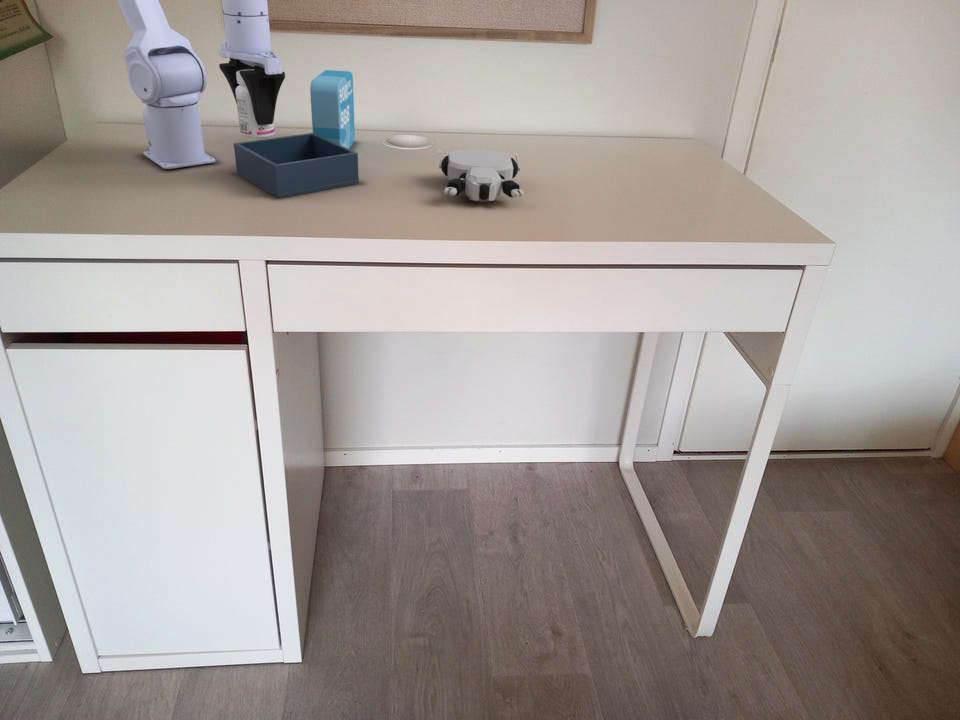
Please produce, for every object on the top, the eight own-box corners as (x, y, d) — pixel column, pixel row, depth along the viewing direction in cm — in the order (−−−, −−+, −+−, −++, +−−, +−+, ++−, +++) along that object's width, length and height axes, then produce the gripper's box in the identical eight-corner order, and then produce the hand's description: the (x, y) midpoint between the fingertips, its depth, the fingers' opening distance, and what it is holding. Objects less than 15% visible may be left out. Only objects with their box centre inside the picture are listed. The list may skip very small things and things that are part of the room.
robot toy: (526, 214, 104) (515, 175, 117) (529, 184, 102) (517, 147, 114) (440, 212, 103) (438, 173, 116) (440, 181, 101) (438, 144, 113)
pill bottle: (277, 130, 106) (271, 69, 102) (273, 139, 102) (267, 75, 98) (243, 129, 106) (236, 68, 102) (237, 138, 102) (230, 74, 98)
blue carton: (341, 160, 120) (338, 83, 113) (313, 158, 120) (309, 81, 114) (355, 141, 130) (352, 69, 124) (329, 139, 130) (326, 68, 124)
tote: (236, 173, 111) (233, 143, 108) (314, 161, 118) (313, 132, 116) (277, 198, 102) (274, 165, 100) (358, 183, 110) (357, 152, 108)
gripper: (194, 8, 99) (208, 112, 106) (240, 21, 89) (252, 134, 96) (244, 7, 103) (254, 107, 110) (293, 20, 93) (300, 128, 100)
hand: (256, 120), depth 103 cm, fingers closed on pill bottle, 5 cm apart
